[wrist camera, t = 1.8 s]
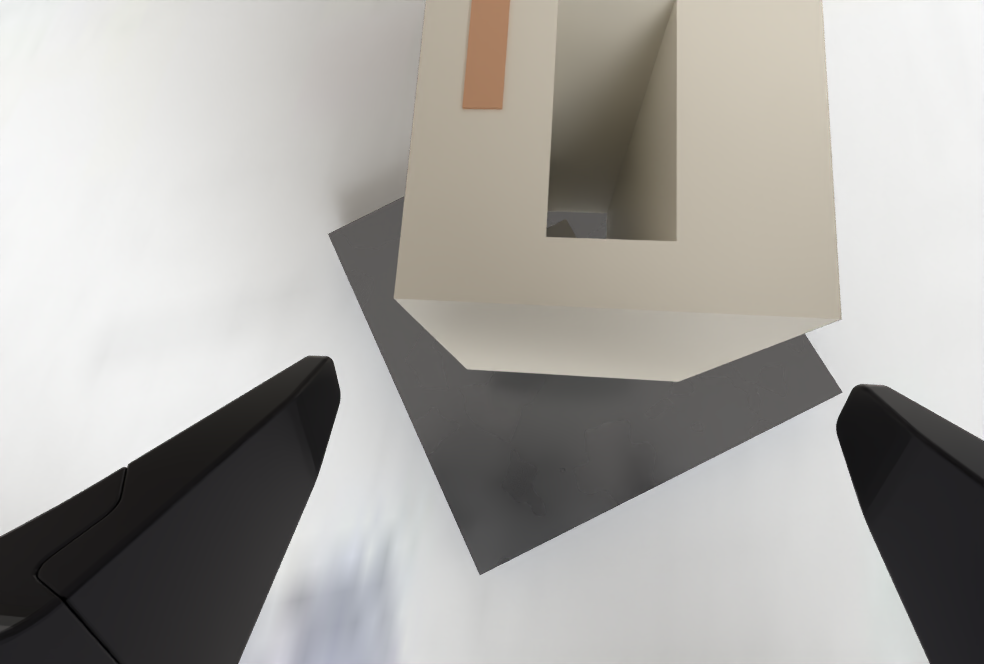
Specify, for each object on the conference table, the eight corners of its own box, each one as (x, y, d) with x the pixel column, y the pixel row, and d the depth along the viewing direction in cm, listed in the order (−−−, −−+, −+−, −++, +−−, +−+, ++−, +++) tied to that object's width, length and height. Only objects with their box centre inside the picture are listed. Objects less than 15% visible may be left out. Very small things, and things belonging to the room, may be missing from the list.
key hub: (812, 396, 20) (927, 380, 14) (485, 561, 20) (463, 614, 14) (632, 110, 23) (665, -2, 17) (346, 251, 23) (280, 187, 17)
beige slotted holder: (678, 381, 15) (842, 318, 7) (466, 369, 15) (392, 297, 7) (678, 184, 16) (820, -67, 8) (481, 179, 16) (431, -59, 8)
